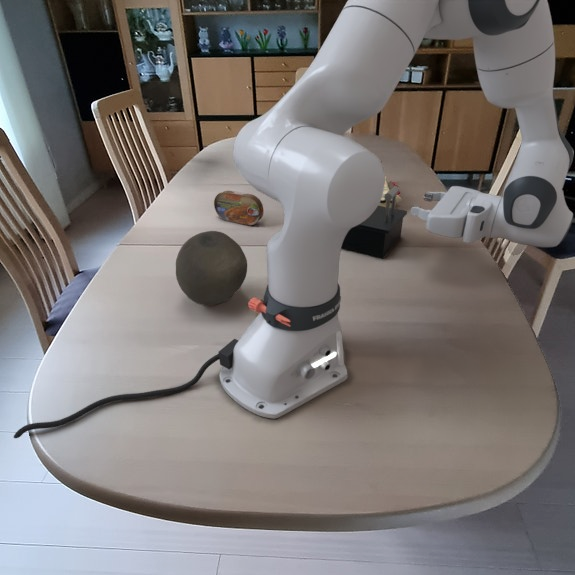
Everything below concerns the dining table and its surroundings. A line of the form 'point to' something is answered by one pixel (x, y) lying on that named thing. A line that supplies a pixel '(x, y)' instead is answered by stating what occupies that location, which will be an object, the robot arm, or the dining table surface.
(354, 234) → the bin
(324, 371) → the robot arm
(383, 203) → the cat figure
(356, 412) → the dining table surface
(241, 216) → the tin
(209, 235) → the dark brown ball
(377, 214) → the bin lid
